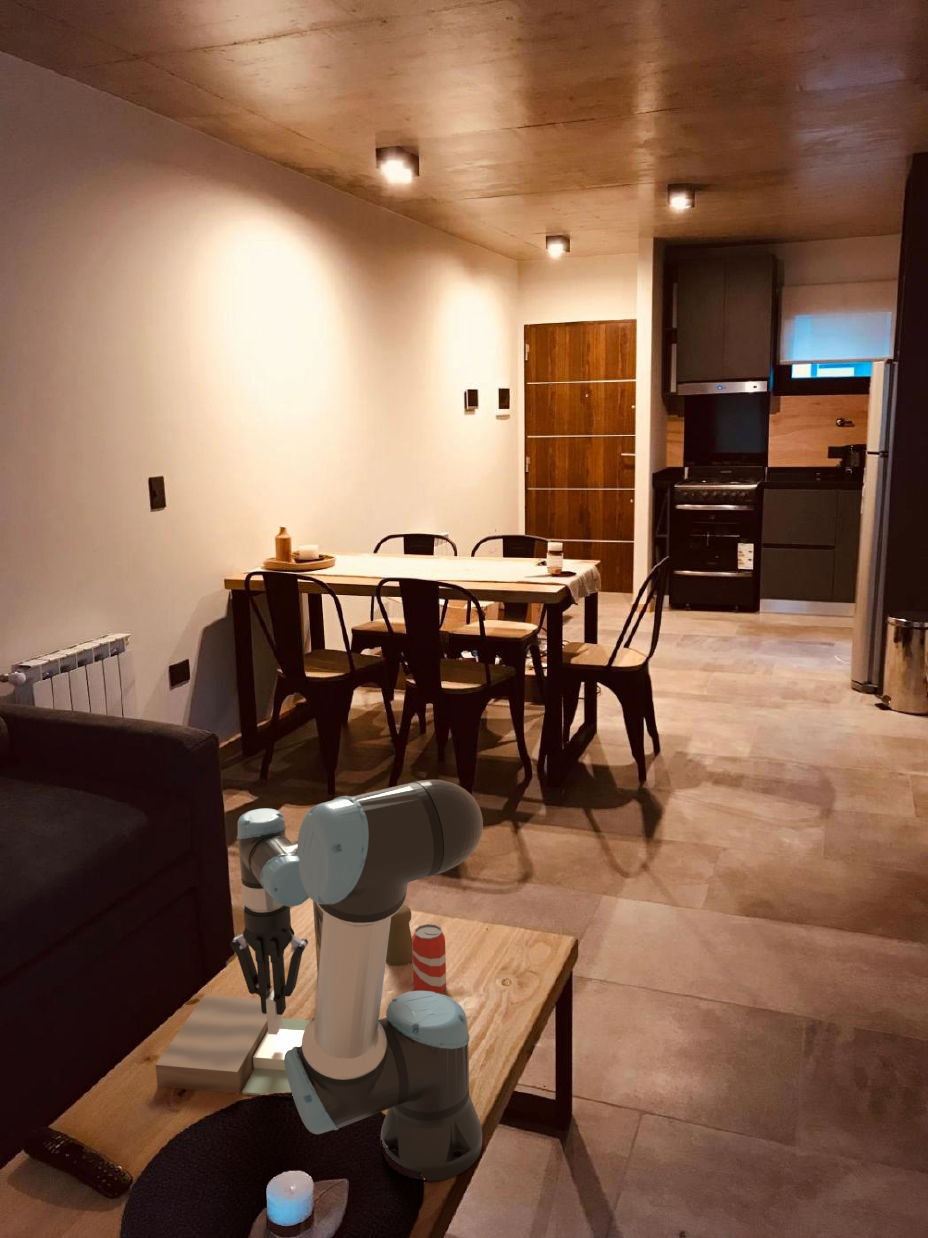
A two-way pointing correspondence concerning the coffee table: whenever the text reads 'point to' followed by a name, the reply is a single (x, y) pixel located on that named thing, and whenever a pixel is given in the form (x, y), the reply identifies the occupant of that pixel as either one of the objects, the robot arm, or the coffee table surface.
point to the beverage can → (429, 959)
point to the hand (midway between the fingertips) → (275, 1029)
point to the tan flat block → (214, 1046)
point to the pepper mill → (400, 938)
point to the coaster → (276, 1049)
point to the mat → (271, 1078)
